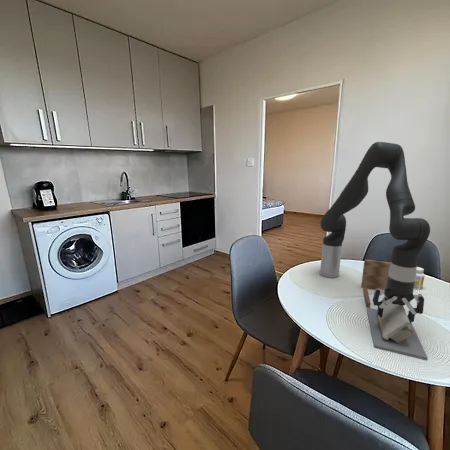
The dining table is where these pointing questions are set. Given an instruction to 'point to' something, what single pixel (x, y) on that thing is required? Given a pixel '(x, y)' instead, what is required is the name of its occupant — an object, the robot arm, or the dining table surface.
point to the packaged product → (395, 323)
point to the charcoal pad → (406, 346)
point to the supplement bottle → (419, 278)
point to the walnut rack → (374, 277)
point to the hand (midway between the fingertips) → (394, 319)
